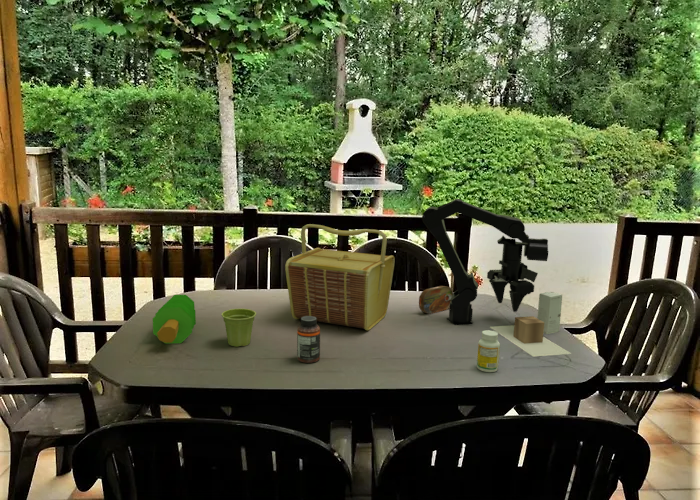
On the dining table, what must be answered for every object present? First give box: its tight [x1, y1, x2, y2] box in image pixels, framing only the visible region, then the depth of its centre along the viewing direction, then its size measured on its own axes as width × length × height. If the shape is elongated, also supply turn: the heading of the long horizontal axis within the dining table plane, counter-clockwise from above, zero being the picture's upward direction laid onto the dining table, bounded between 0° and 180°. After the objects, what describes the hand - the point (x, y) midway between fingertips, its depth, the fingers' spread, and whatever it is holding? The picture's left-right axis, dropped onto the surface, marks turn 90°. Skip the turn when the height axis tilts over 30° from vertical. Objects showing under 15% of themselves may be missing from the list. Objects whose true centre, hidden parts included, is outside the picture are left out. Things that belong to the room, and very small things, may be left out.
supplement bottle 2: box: [476, 329, 501, 373], centre depth 142 cm, size 5×5×10 cm
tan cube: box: [513, 315, 545, 344], centre depth 163 cm, size 6×6×6 cm
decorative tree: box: [152, 294, 197, 345], centre depth 161 cm, size 11×12×30 cm
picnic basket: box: [284, 223, 396, 331], centre depth 177 cm, size 29×26×30 cm
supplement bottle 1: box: [296, 316, 321, 364], centre depth 144 cm, size 6×6×11 cm
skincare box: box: [536, 291, 563, 335], centre depth 171 cm, size 6×4×12 cm
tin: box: [418, 285, 454, 315], centre depth 190 cm, size 15×3×8 cm, turn 129°
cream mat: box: [489, 324, 572, 358], centre depth 164 cm, size 12×25×1 cm, turn 14°
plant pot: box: [221, 308, 257, 348], centre depth 154 cm, size 9×9×9 cm
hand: (507, 307), depth 175 cm, fingers open, 9 cm apart
